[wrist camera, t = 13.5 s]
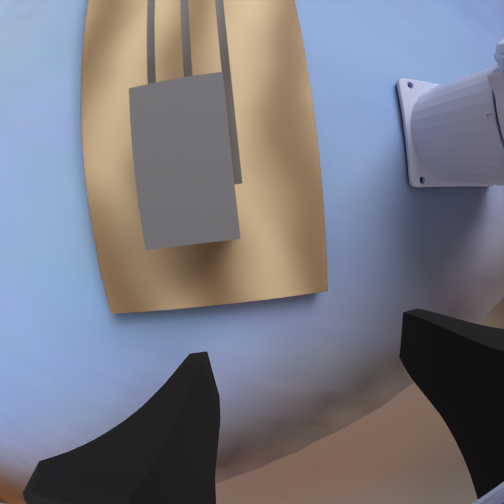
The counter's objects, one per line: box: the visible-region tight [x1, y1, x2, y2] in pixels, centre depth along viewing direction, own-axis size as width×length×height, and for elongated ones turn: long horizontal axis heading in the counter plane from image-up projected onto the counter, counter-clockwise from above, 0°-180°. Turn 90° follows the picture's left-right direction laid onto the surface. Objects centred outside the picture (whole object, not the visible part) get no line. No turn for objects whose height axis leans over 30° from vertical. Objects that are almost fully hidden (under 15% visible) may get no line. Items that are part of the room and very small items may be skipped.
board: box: [81, 0, 328, 314], centre depth 16 cm, size 14×26×2 cm, turn 6°
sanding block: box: [129, 72, 241, 250], centre depth 14 cm, size 4×7×5 cm, turn 6°
